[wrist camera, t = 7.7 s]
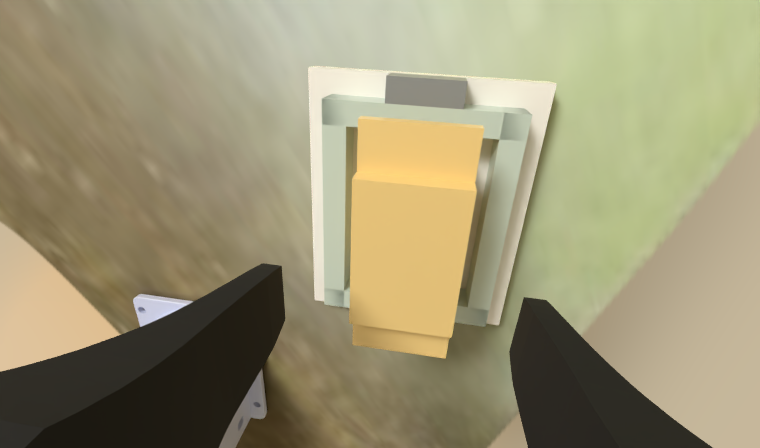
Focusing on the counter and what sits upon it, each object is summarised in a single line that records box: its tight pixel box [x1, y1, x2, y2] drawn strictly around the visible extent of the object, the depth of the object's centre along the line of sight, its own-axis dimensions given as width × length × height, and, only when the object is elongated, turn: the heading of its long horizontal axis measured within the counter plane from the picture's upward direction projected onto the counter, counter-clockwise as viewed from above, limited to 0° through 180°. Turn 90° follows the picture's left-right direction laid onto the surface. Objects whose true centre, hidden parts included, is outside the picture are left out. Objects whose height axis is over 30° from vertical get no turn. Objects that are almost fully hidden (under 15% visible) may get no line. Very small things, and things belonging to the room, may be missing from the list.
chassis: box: [308, 66, 557, 327], centre depth 18 cm, size 12×10×2 cm
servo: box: [349, 116, 484, 359], centre depth 16 cm, size 10×4×5 cm, turn 177°
